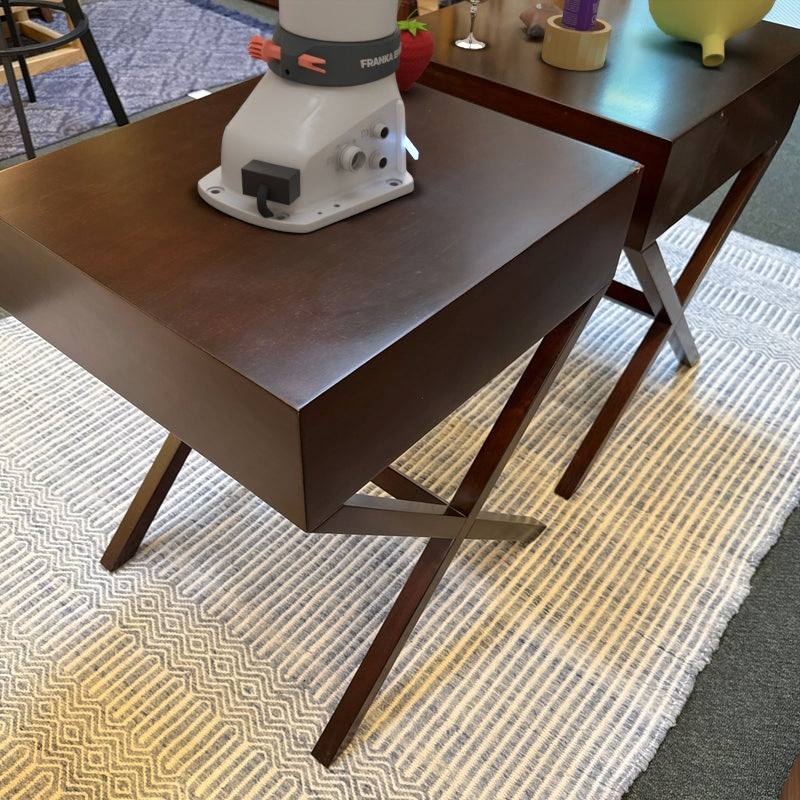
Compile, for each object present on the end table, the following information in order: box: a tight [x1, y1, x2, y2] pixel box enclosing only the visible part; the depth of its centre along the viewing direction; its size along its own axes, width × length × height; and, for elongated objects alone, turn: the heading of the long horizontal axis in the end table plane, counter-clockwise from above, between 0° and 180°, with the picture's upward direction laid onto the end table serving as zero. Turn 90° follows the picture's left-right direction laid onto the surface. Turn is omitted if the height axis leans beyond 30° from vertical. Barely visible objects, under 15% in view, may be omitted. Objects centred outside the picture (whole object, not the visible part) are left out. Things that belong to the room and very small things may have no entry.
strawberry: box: [395, 8, 435, 92], centre depth 104 cm, size 6×8×10 cm
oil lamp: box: [518, 2, 563, 38], centre depth 130 cm, size 9×4×8 cm
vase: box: [647, 0, 777, 67], centre depth 124 cm, size 18×18×19 cm
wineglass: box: [454, 0, 489, 50], centre depth 120 cm, size 6×6×12 cm
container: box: [561, 0, 601, 32], centre depth 116 cm, size 5×5×15 cm
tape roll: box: [541, 15, 613, 72], centre depth 120 cm, size 9×9×5 cm
